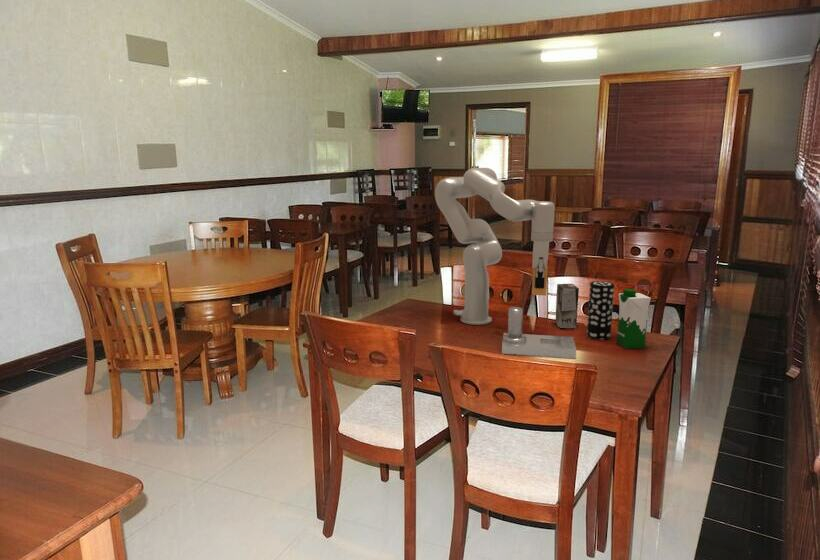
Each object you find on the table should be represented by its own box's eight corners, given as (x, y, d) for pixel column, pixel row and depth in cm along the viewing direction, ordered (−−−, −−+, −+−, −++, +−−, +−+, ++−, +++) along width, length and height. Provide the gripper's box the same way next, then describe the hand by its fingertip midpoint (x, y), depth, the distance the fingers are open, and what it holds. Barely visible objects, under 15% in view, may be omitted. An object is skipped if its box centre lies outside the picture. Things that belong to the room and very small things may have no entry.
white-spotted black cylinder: (584, 333, 214) (587, 281, 210) (606, 333, 214) (610, 281, 210) (590, 340, 206) (593, 286, 202) (613, 340, 206) (617, 286, 202)
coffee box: (576, 329, 219) (579, 288, 216) (560, 329, 219) (562, 288, 216) (570, 322, 228) (573, 283, 225) (554, 322, 228) (556, 283, 225)
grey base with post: (501, 353, 192) (503, 313, 189) (503, 340, 205) (504, 303, 202) (575, 358, 187) (578, 317, 184) (572, 345, 200) (575, 306, 198)
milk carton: (612, 342, 204) (616, 287, 200) (636, 340, 205) (640, 286, 201) (625, 349, 195) (629, 293, 191) (649, 348, 197) (654, 292, 193)
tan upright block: (531, 294, 206) (533, 267, 204) (531, 292, 210) (533, 265, 208) (546, 295, 205) (547, 268, 203) (545, 293, 209) (547, 266, 207)
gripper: (531, 233, 212) (528, 281, 215) (531, 239, 196) (528, 291, 199) (551, 233, 210) (549, 282, 214) (553, 240, 194) (550, 292, 198)
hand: (539, 286), depth 207 cm, fingers closed on tan upright block, 4 cm apart
